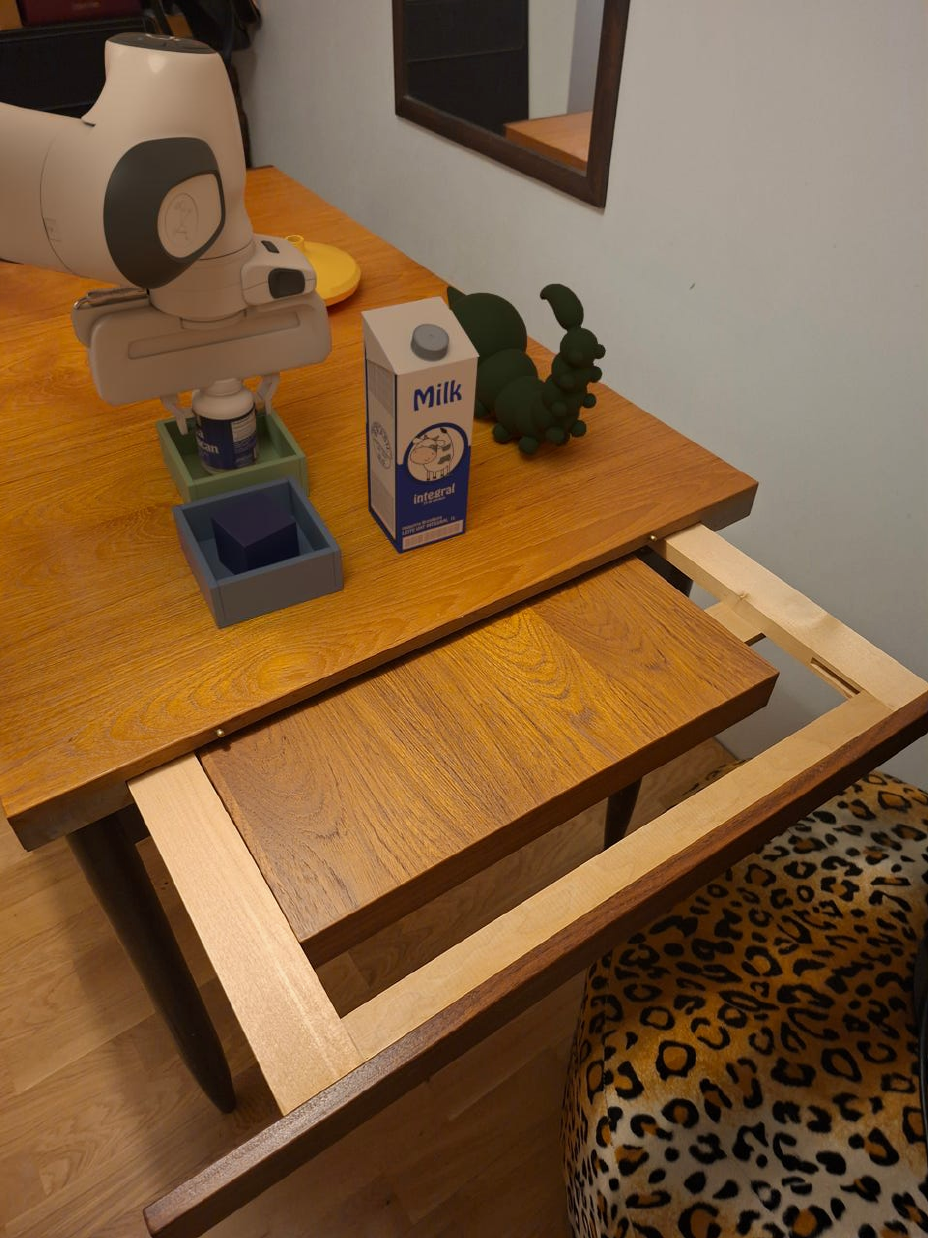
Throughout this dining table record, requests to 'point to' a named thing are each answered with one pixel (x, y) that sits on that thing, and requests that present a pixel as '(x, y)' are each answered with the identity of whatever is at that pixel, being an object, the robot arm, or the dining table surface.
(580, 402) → the toy figurine
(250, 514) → the navy block
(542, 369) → the dining table surface
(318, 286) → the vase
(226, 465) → the pill bottle
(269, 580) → the blue bin
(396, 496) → the milk carton
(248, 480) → the green bin
